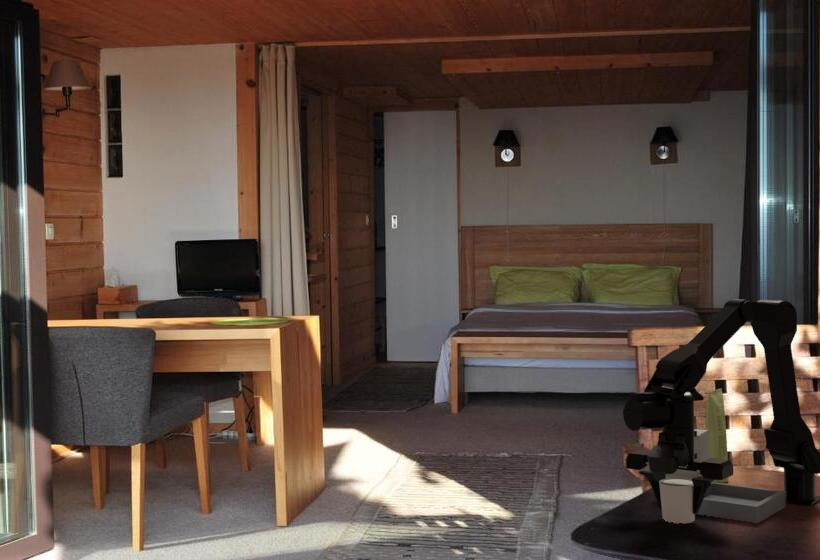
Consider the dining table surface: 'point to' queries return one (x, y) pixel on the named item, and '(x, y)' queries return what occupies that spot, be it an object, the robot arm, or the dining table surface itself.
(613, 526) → the dining table surface
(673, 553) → the dining table surface
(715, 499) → the tray
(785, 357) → the robot arm
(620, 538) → the dining table surface
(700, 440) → the supplement box
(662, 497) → the white cup
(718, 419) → the tube
